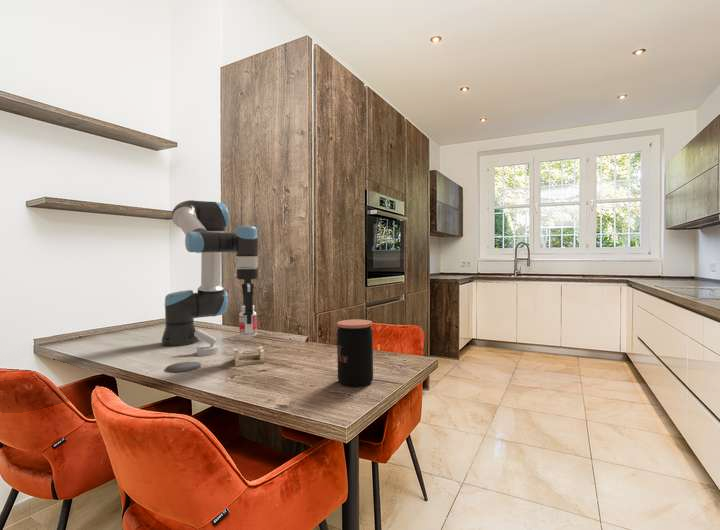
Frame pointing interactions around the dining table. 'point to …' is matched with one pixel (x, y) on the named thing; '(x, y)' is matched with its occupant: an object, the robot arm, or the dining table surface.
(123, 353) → the dining table surface
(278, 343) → the dining table surface
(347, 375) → the coffee jar
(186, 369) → the coaster
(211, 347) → the wall hook
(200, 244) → the robot arm
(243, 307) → the pill bottle
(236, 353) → the cradle
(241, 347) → the dining table surface
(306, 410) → the dining table surface
